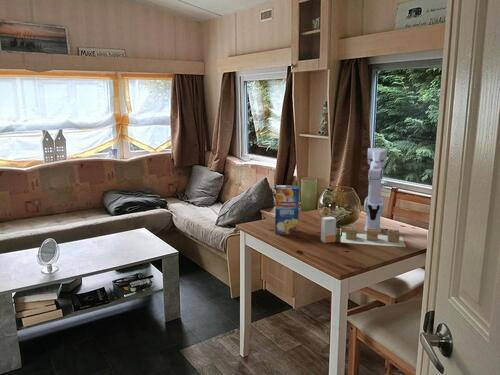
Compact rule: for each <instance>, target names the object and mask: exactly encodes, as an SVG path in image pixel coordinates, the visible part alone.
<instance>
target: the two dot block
mask: <svg viewBox="0 0 500 375" xmlns="http://www.w3.org/2000/svg"><path fill="white" fill-rule="evenodd" d="M345 230H346V231H345V233H346V239H352V240H356V236H357V234H358V233H357V231H358V227H356V226H346V227H345Z"/></svg>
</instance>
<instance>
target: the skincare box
mask: <svg viewBox="0 0 500 375" xmlns="http://www.w3.org/2000/svg"><path fill="white" fill-rule="evenodd" d="M320 225H321V226H320V241H321V242H322V243H324V244H325V243H335V242H336V228H337V218H336V217H334V216H324V217H321V224H320Z"/></svg>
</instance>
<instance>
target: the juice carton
mask: <svg viewBox="0 0 500 375" xmlns="http://www.w3.org/2000/svg"><path fill="white" fill-rule="evenodd" d="M299 202H300V185H278V184H277V185H275V206H274V207H275V209H274V210H275V213H274V214H275V215H274V216H275V217H274V218H275V220H274V226H275V227H274V234H277V235H298V234H299V211H300V210H299V208H300V207H299V206H300V203H299Z"/></svg>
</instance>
